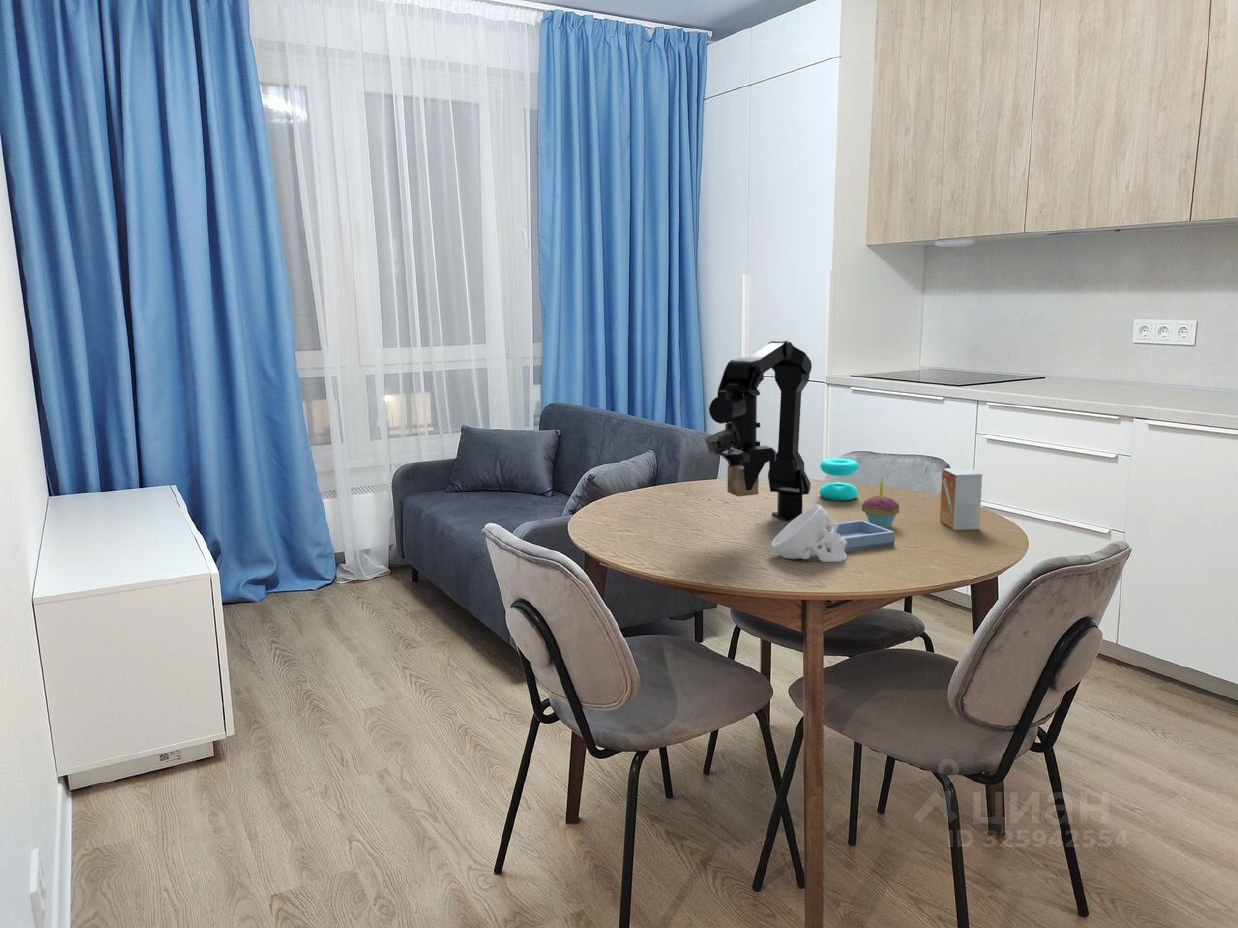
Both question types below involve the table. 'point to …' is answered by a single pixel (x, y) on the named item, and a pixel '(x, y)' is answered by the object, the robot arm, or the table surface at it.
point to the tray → (864, 535)
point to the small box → (961, 498)
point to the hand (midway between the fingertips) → (743, 487)
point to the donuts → (839, 489)
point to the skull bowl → (811, 537)
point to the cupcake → (880, 509)
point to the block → (739, 482)
